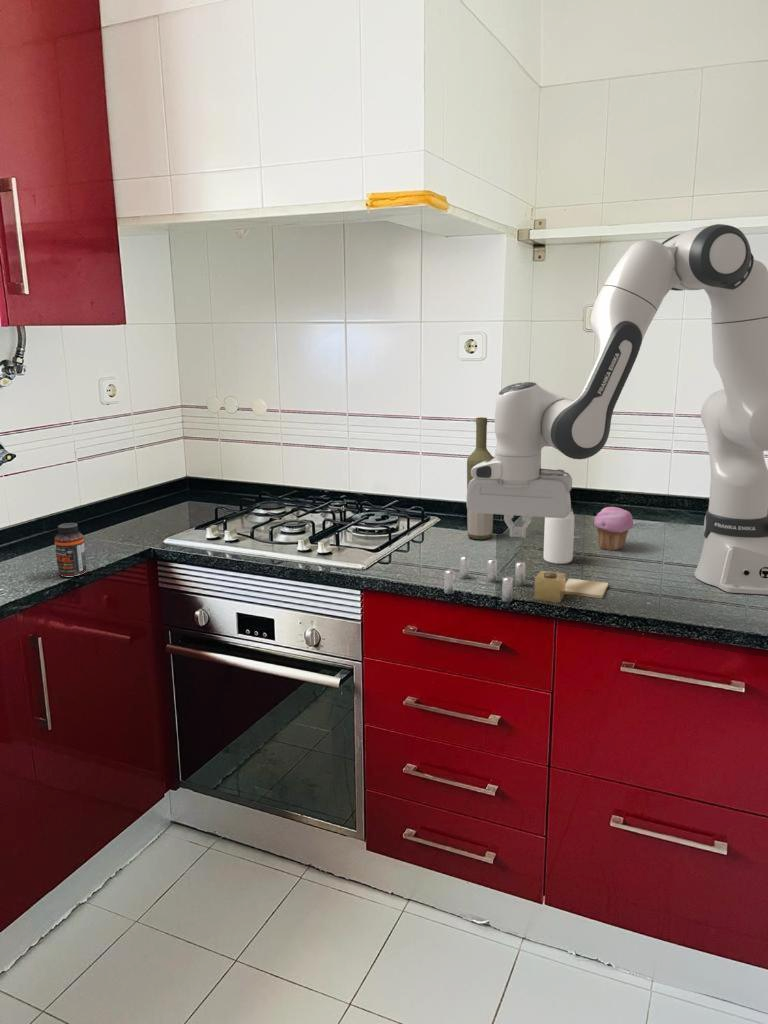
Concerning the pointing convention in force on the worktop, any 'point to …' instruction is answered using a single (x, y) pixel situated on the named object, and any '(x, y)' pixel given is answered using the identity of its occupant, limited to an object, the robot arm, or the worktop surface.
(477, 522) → the bottle
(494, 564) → the spacer posts
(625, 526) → the cupcake
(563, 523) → the can
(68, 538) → the supplement bottle
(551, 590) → the cube with brass knob
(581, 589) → the coaster
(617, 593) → the worktop surface
